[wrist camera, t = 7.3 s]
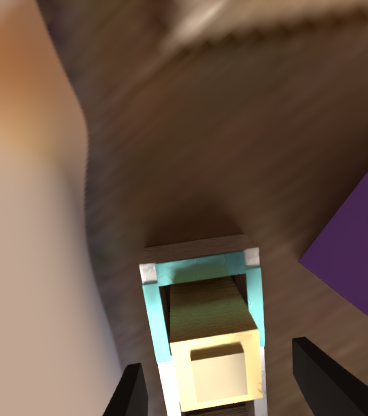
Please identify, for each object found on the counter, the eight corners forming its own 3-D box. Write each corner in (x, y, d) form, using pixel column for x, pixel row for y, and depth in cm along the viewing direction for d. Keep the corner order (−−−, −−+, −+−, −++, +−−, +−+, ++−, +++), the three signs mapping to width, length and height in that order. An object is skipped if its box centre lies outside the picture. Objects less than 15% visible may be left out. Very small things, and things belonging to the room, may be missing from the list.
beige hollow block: (229, 312, 16) (265, 404, 10) (177, 320, 16) (182, 419, 10) (225, 265, 15) (261, 334, 9) (170, 273, 15) (169, 349, 9)
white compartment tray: (256, 415, 19) (270, 457, 16) (177, 429, 18) (178, 474, 16) (244, 233, 15) (259, 248, 12) (144, 247, 15) (138, 266, 12)
